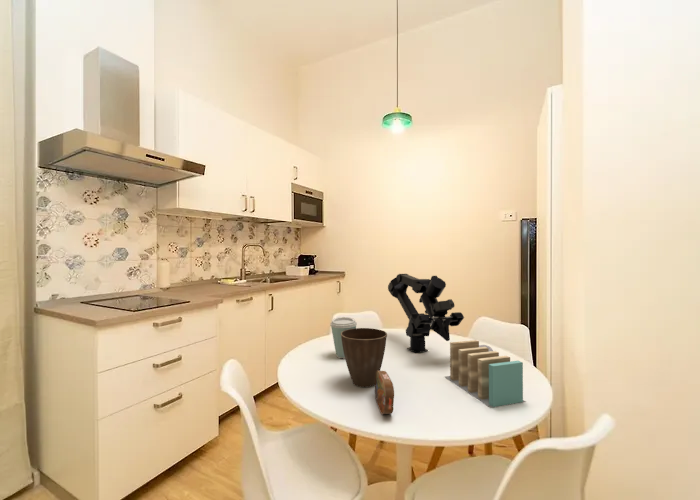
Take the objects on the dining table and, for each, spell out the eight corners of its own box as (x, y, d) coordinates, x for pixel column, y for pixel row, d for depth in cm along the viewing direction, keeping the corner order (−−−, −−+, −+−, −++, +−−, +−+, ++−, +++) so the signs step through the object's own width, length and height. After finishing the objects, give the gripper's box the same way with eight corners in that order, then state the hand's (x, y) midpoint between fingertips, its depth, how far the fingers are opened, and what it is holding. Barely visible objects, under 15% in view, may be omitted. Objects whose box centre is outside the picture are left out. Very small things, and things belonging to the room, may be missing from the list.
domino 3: (467, 390, 94) (467, 353, 94) (495, 386, 97) (495, 350, 97) (471, 392, 93) (471, 355, 93) (499, 388, 96) (498, 352, 96)
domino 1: (450, 378, 103) (450, 342, 103) (475, 375, 106) (475, 339, 106) (453, 380, 101) (453, 343, 102) (479, 377, 104) (478, 341, 104)
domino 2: (458, 384, 99) (458, 349, 99) (485, 380, 102) (485, 346, 102) (461, 386, 97) (461, 351, 97) (488, 382, 100) (488, 348, 100)
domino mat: (443, 377, 105) (443, 376, 105) (474, 373, 108) (474, 372, 108) (490, 409, 84) (490, 408, 84) (526, 403, 87) (526, 401, 87)
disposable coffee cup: (356, 361, 121) (356, 322, 121) (329, 360, 121) (329, 322, 121) (356, 352, 132) (356, 316, 132) (331, 352, 132) (331, 316, 132)
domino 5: (488, 404, 86) (488, 364, 86) (518, 399, 89) (518, 360, 89) (493, 407, 84) (492, 366, 84) (522, 402, 87) (522, 362, 87)
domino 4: (477, 397, 90) (477, 358, 90) (506, 392, 93) (506, 355, 93) (481, 399, 89) (481, 360, 89) (510, 394, 91) (510, 357, 91)
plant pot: (331, 381, 102) (331, 332, 102) (365, 370, 112) (365, 325, 112) (362, 397, 91) (362, 342, 91) (396, 383, 100) (396, 333, 100)
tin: (373, 394, 93) (373, 365, 93) (384, 393, 94) (384, 365, 94) (383, 421, 78) (383, 387, 78) (395, 420, 78) (395, 387, 79)
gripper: (417, 293, 115) (433, 329, 105) (460, 291, 121) (480, 326, 110) (407, 310, 123) (422, 347, 112) (449, 308, 128) (466, 342, 117)
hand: (448, 340), depth 113 cm, fingers closed
